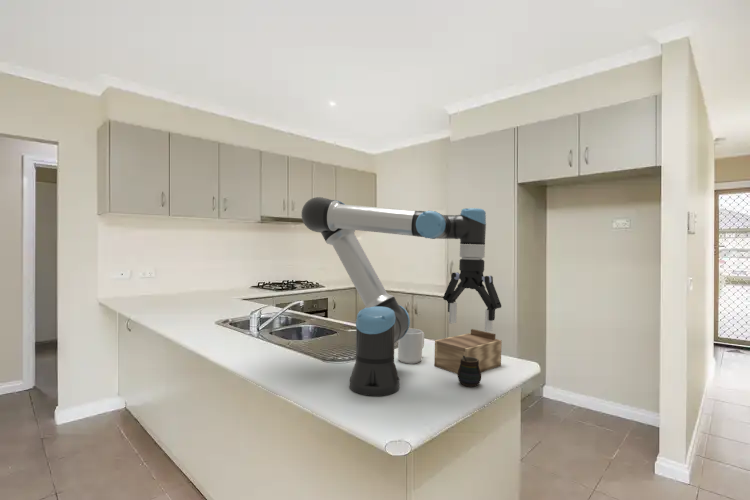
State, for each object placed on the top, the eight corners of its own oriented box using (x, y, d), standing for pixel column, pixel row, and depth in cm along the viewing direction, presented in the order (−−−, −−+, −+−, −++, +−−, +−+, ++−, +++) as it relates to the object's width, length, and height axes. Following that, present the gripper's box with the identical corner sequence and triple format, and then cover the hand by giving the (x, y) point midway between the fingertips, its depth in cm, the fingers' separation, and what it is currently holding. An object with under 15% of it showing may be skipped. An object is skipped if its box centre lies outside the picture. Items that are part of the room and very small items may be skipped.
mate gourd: (484, 383, 125) (485, 351, 125) (476, 391, 118) (477, 357, 118) (462, 378, 129) (462, 348, 128) (453, 385, 122) (454, 353, 122)
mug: (410, 366, 141) (411, 334, 141) (392, 360, 148) (393, 330, 147) (431, 359, 149) (432, 330, 149) (414, 354, 156) (414, 326, 156)
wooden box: (466, 376, 131) (466, 349, 130) (434, 366, 141) (434, 340, 141) (501, 365, 143) (501, 340, 143) (469, 356, 154) (469, 333, 154)
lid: (464, 351, 131) (464, 342, 131) (436, 344, 140) (437, 335, 140) (499, 343, 144) (499, 334, 144) (471, 336, 153) (472, 328, 153)
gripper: (515, 260, 115) (512, 333, 116) (448, 256, 135) (446, 318, 135) (500, 261, 111) (497, 336, 111) (433, 256, 130) (431, 321, 131)
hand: (469, 326), depth 123 cm, fingers open, 13 cm apart
